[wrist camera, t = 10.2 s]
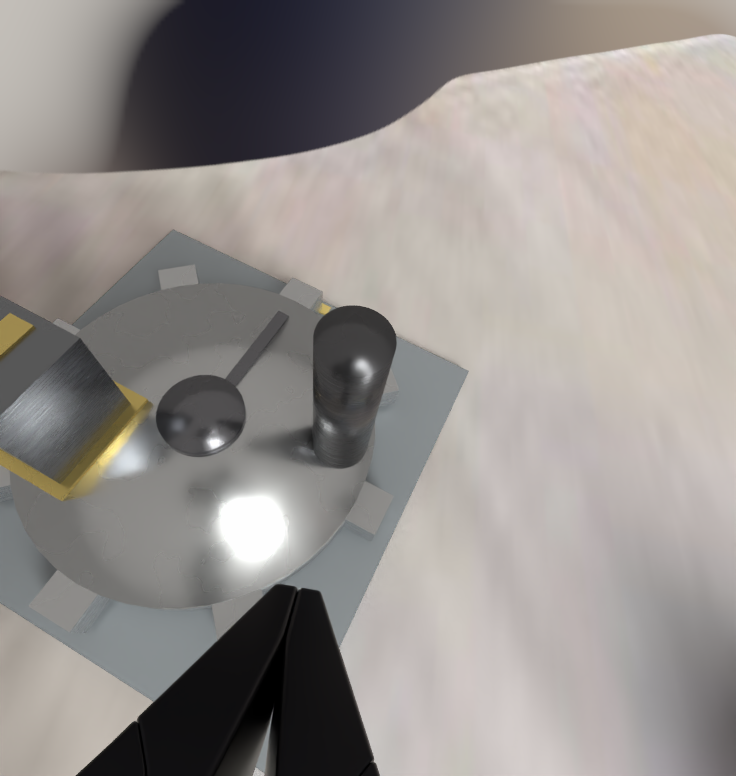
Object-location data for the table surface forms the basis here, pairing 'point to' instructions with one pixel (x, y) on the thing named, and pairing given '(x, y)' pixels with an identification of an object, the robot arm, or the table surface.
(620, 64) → the table surface
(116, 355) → the sprocket
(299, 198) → the table surface
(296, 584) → the base plate
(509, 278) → the table surface
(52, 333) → the link block
